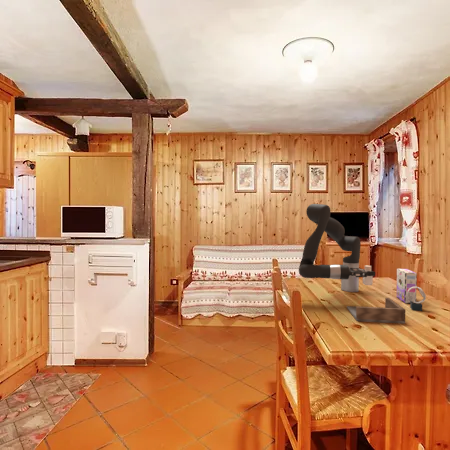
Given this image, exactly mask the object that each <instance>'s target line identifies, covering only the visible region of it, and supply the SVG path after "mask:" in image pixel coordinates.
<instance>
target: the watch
mask: <svg viewBox="0 0 450 450" xmlns="http://www.w3.org/2000/svg"><path fill="white" fill-rule="evenodd" d="M413 288H416V289H417V290H418V291H419V294H420V295H421V297H422V298H423V299H422V300H420V301H416V302H415V301H412V299H411V297H410V295H409V291H410V290H411V289H413ZM407 293H408V294H407V295H408V297H409V299H410V300H411V301H410V303H409V307H410V309H411V311H417V312H419V311H420V312H423V304H422V303H424V302H425V301H426V297H427V295H426V293H425V291H424V290H423V288H422V287H419V286H417V287H416V286H414V287H411V288H409V289H408V292H407Z"/></svg>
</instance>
